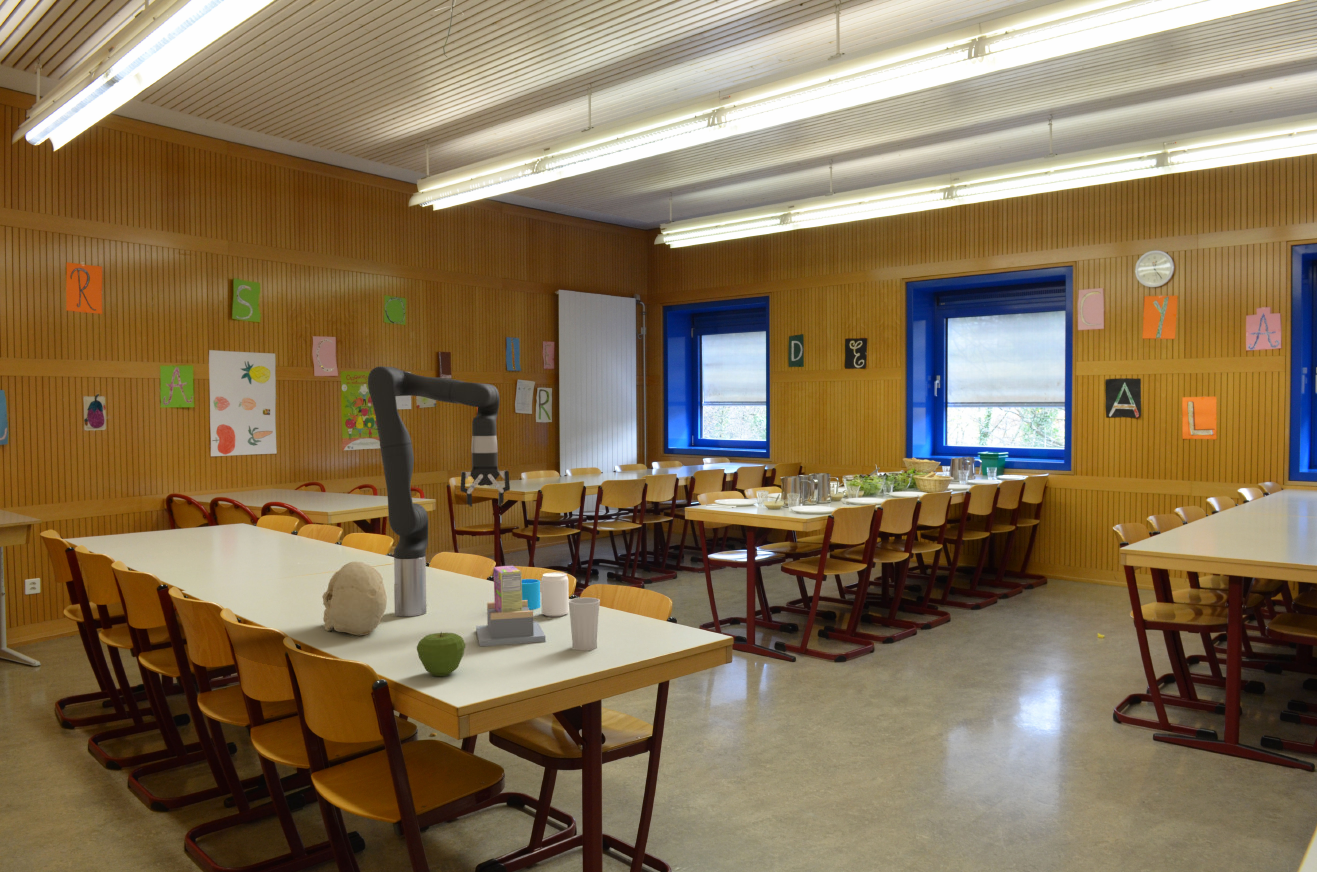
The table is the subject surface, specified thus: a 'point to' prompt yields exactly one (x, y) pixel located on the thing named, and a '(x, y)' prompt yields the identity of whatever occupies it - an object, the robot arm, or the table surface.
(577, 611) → the cup
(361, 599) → the skull
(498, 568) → the box
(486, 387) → the robot arm
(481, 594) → the table surface
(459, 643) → the apple
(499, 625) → the display stand
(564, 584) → the beverage can
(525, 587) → the mug
